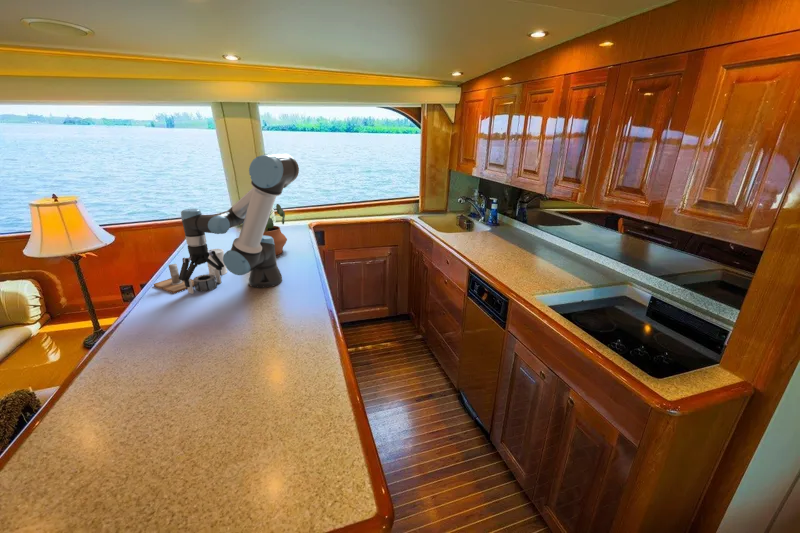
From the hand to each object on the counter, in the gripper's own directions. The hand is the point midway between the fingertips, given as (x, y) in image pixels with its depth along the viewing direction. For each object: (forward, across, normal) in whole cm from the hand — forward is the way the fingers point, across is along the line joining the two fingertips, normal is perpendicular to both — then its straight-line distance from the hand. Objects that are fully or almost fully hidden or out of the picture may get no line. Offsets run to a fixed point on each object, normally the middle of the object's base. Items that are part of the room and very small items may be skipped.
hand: (205, 287), depth 156 cm
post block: (0, +5, -14) cm, 15 cm away
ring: (0, 0, 0) cm, 0 cm away
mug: (0, -13, -11) cm, 17 cm away
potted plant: (0, -49, -17) cm, 52 cm away
